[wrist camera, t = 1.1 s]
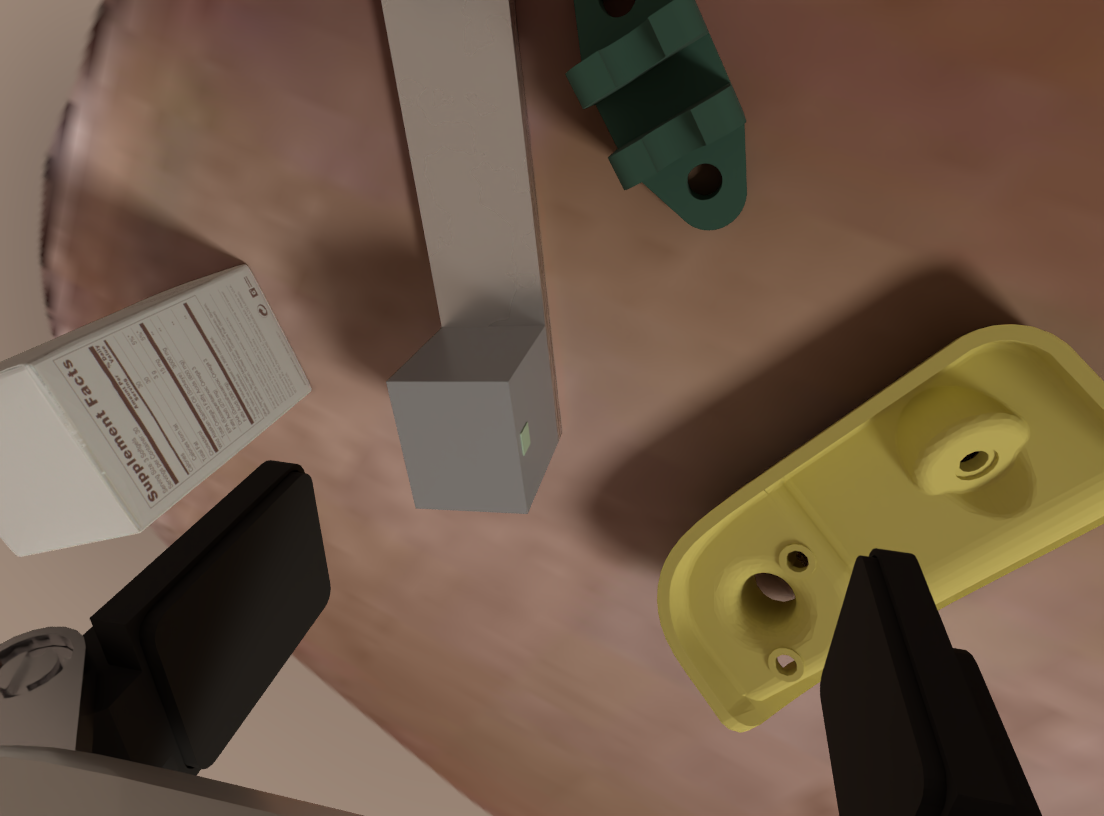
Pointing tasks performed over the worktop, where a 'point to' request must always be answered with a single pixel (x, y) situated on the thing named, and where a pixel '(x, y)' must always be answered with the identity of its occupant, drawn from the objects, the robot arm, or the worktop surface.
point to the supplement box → (138, 410)
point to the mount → (664, 104)
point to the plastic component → (889, 511)
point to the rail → (471, 160)
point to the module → (476, 418)
